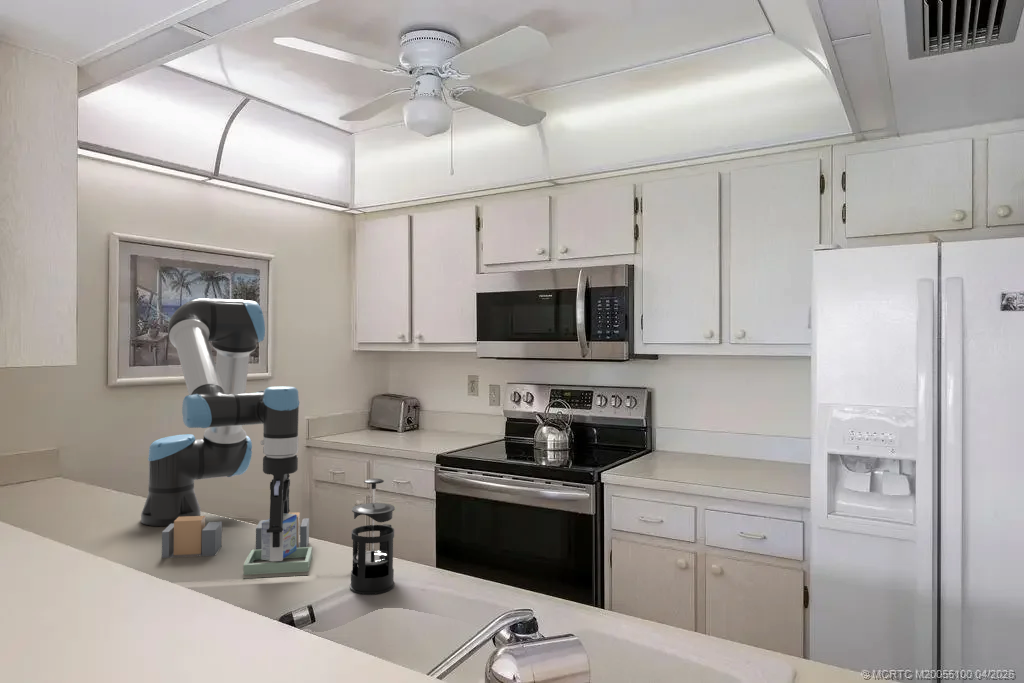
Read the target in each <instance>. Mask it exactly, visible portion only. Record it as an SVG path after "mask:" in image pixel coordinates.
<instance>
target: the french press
mask: <svg viewBox="0 0 1024 683" xmlns="http://www.w3.org/2000/svg"><path fill="white" fill-rule="evenodd" d="M363 482H364V484H369V485H370V484H371V490H372V502H368V503H361V504H357V505H355V506H353V507H352V508H351V512H352V513H353V520H356V518H358V517H359V516H362V515H363V516H367V517H369V518H371V519H372V524H368V525H367V524H366V525H361V526H358V527H355V528H353V529H352V530H351V540H352V570H351V571H350V583H349V589H350V592H351V591H352V592H353V593H354V594H359V595H365V596H370V595H380V594H383V593H387V592H389V591H391V590H393V589H394V587H395V581H394V576H395V575H394V572H395V570H394V564H393V563H394V538H395V529H394V528H393V527H392V525H391V524H387V523H385V522H388V521H391V520H392V519H393V512H394V511H395V509H396V508H395V506H394V505H392V504H389V503H383V502H375V490H376V489H377V484H382V483H384V482H385V480H383V479H382V478H368V479H367V478H366V479H364V481H363ZM375 522H377V523H383V524H375ZM365 532H372V534H371V536H364V535H359V534H361V533H365ZM375 532H379V535H378V536H375ZM367 544H371V550H366V547H367ZM375 544H379V550H378V549H376V550H375V549H374V547H375Z"/></svg>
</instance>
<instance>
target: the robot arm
mask: <svg viewBox="0 0 1024 683" xmlns="http://www.w3.org/2000/svg"><path fill="white" fill-rule="evenodd" d="M265 325H266V324H265V317H264V313H263V310H262V307H261V306H260V304H259V303H258V302H257V301H255V300H246V299H245V300H244V299H243V298H241V299H233V298H232V299H231V298H230V299H229V298H228V299H227V298H226V299H225V298H205V297H204V298H203V297H201V298H195V299H192V300H189V301H187V302H185V303H183V304H182V305H181V306H180V307H178V308H177V309H176V310H175V311H174V313H173V314H172V315H171V317H170V319H169V322H168V325H167V334H168V340H169V342H170V344H171V345H172V346H173V347H174V348H176V352H177V356H178V360H179V362H180V367H181V371H182V374H183V378H184V381H185V386H186V389H187V394H188V395H186V396H184V398H183V400H182V408H181V409H182V410H181V413H182V422H183V424H184V425H185V427H186V428H189V429H190V428H191V429H196V428H197V429H198V428H199V429H200V428H201V429H204V432H203V438H196V437H195V435H194V434H191V433H189V434H188V433H187V434H186V433H185V434H176V435H169V436H166V437H161V438H159V439H156V440H154V441H153V442H152V443H151V444H150V445H149V448H148V457H147V461H148V486H147V487H148V493H147V496H146V498H145V499H146V500H145V502H144V505H143V507H142V510H141V513H140V523H141V524H142V525H146V526H151V527H168V526H169V525H170V524H173V523H174V521H175V520H176V519H177V518H178V517H185V516H201V512H202V511H201V506H200V503H199V500H198V497H197V495H196V492H195V481H199V480H207V479H216V478H226V477H227V478H232V477H235V476H241V475H243V474H244V473H246V471H247V470H248V469H249V467H250V463H251V462H252V461H251V460H252V454H253V451H252V449H253V443H252V440H251V438H250V436H248V435H247V431H246V430H245V429H243V426H249V425H250V426H251V425H252V426H253V425H254V426H255V425H263V427H262V428H263V432H262V434H263V440H262V439H261V441H260V445H262V446H263V449H262V450H263V452H262V453H263V455H265V456H263V458H262V472H263V474H266V475H272V476H273V478H272V479H271V481H269V490H270V496H269V497H270V498H269V505H270V506H269V519H270V521H269V529H267V533H270V561H269V562H284V559H283V531H282V530H283V513H287V514H288V513H291V512H290V511H291V510H290V486H291V478H290V476H291V475H290V474H294V473H296V472H298V470H299V469H298V464H299V460H298V459H299V456H298V455H297V454H298V453H299V409H300V398H299V390H298V388H296V387H295V386H285V385H284V386H282V385H281V386H277V385H276V386H268V387H266V388H265V389H264V390H260V391H257V392H246V391H247V381H248V371H249V363H250V362H249V361H250V355H251V353H253V352H254V351H256V349H257V343H261V342H263V341H264V339H265V336H266V335H265V334H266V332H265V331H266V326H265ZM209 342H211V347H212V349H213V350H214V351H216V357H215V358H214V356H213V353H212V349H211V347H210V343H209ZM215 359H216V360H215Z"/></svg>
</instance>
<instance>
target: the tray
mask: <svg viewBox="0 0 1024 683" xmlns="http://www.w3.org/2000/svg"><path fill="white" fill-rule="evenodd" d="M295 558H297V559H298V558H305V559H304V560H296V561H295V560H294V561H293V560H292V561H269V562H255V560H256V561H257V560H262V559H261V549H256V548H255V549H254V548H253V549H251V550H250V553H249V554H248V556H247V557H246V560H245V561H244V563H243V568H242V569H243V573H242V574H243V575H244V576H248V575H264V574H268V575H269V574H282V573H283V574H284V573H303V572H309V570H310V566H311V562H312V558H313V546H308V547H296V551H295V552H293V553H291V554H290V555H288V556H287V557H285V558H284V559H295ZM306 576H307V577H308V576H309V574H306V575H305V574H303V575H302V574H301V575H296V577H306ZM289 577H290V578H291V577H293V575H283V576H277V578H289ZM270 578H272V579H273V578H275V576H264V577H263V576H262V577H259V579H270ZM251 579H257V577H245V578H243V579H242V580H251Z"/></svg>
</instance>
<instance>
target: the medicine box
mask: <svg viewBox="0 0 1024 683" xmlns="http://www.w3.org/2000/svg"><path fill="white" fill-rule="evenodd" d="M265 520H266V521H264V522H262V527H261V559H260V560H264V561H269V562H271V561H270V533H267V529H269V521H270V518H268V519H265ZM282 531H283V560H284V559H286V558H285V557H287V556H288V555H290V554H291V553H293V552H295V551H296V544H297V543H296V542H297V515H296V514H287V513H283V530H282Z"/></svg>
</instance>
